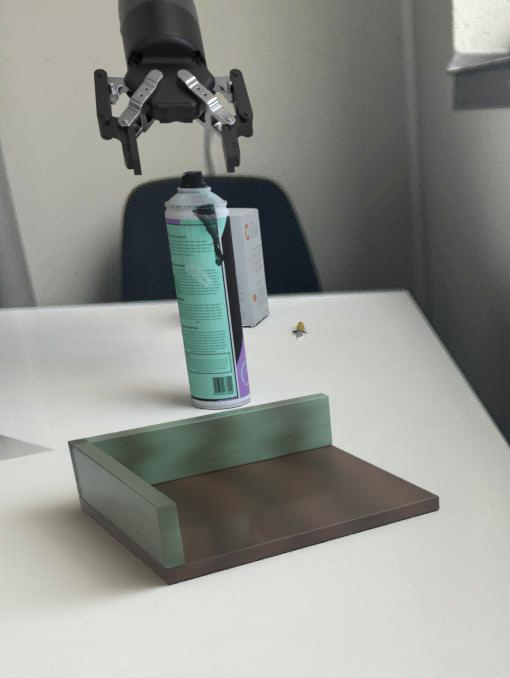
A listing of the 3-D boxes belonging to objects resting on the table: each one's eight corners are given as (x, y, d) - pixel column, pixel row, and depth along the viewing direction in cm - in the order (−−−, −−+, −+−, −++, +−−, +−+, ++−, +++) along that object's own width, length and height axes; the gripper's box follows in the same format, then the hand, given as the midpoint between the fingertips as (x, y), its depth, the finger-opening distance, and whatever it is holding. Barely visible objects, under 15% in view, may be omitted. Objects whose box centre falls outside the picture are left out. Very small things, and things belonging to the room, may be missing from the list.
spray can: (262, 399, 98) (237, 170, 88) (220, 412, 94) (189, 174, 84) (222, 390, 101) (194, 168, 91) (179, 403, 97) (145, 172, 87)
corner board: (169, 584, 62) (156, 507, 59) (81, 509, 73) (67, 441, 70) (439, 509, 72) (437, 440, 70) (326, 453, 83) (321, 392, 81)
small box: (222, 314, 134) (209, 207, 128) (270, 314, 134) (259, 207, 128) (204, 327, 127) (189, 215, 121) (254, 327, 127) (242, 215, 121)
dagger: (310, 345, 118) (292, 343, 118) (309, 353, 119) (291, 350, 118) (309, 321, 127) (293, 319, 127) (308, 329, 128) (292, 326, 127)
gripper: (78, -4, 94) (99, 139, 90) (234, -2, 98) (262, 136, 94) (90, 63, 101) (110, 199, 97) (235, 63, 105) (261, 193, 101)
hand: (184, 167), depth 96 cm, fingers open, 8 cm apart
